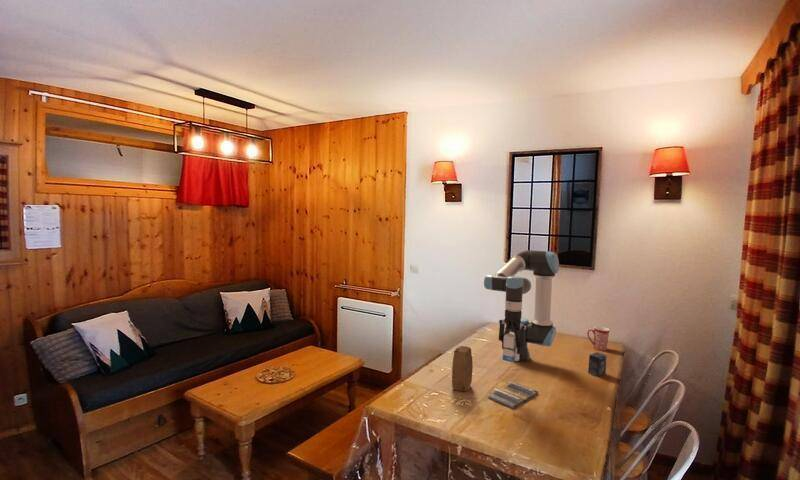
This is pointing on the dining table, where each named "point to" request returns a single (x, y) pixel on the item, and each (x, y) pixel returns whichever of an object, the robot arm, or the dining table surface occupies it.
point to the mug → (600, 338)
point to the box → (597, 364)
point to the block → (462, 368)
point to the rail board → (512, 395)
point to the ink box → (509, 347)
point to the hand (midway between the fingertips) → (510, 358)
